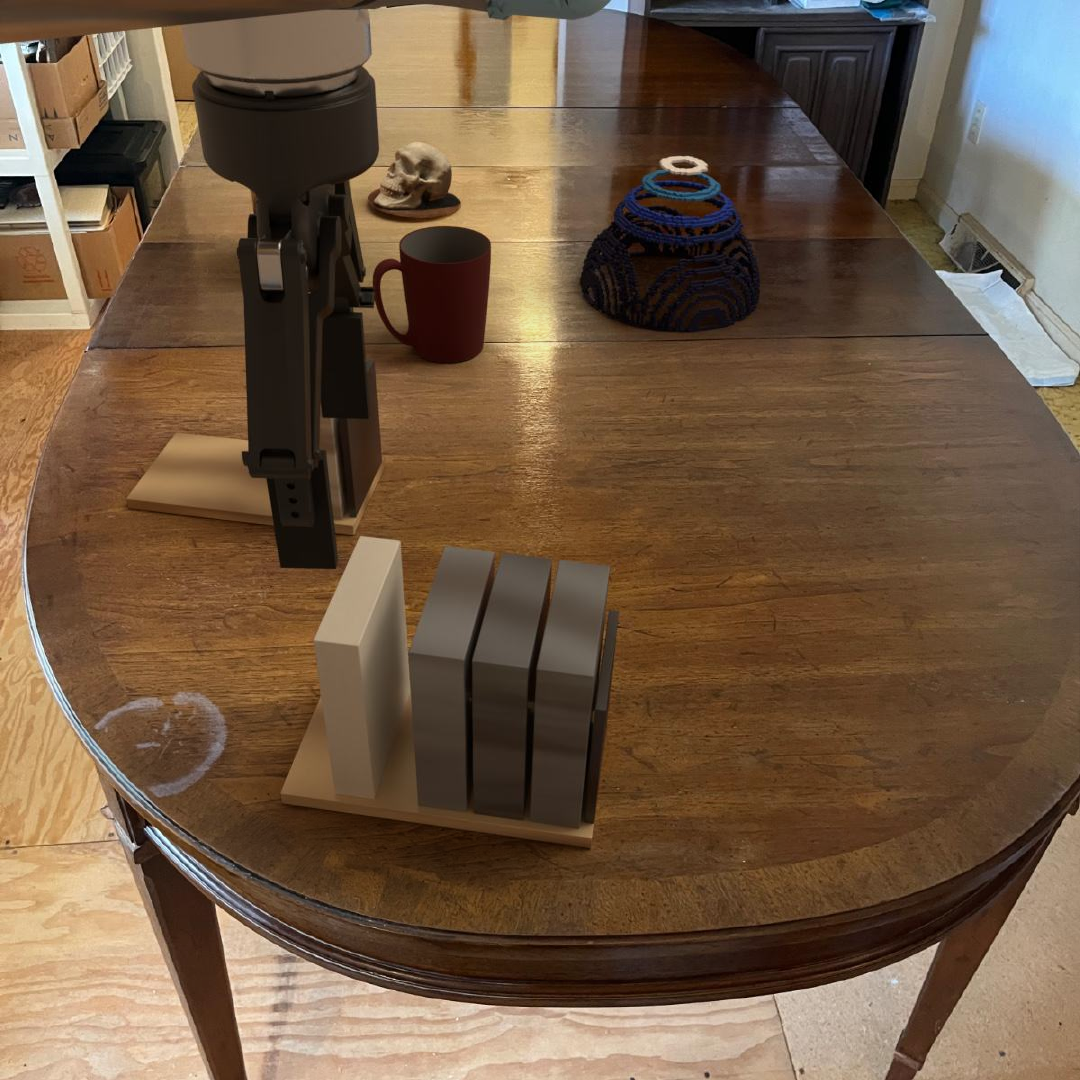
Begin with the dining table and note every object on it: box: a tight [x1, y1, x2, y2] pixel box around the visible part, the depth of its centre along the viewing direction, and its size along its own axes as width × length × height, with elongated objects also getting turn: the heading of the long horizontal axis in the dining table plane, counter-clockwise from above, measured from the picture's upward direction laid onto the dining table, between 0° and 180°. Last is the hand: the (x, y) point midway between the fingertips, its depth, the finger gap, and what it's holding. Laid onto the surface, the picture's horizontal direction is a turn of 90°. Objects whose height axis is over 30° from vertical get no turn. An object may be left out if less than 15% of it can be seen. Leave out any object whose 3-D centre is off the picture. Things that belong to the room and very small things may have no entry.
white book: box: [312, 535, 410, 799], centre depth 64 cm, size 9×2×13 cm, turn 172°
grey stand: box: [279, 545, 620, 849], centre depth 63 cm, size 10×19×14 cm, turn 82°
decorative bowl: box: [579, 155, 761, 333], centre depth 117 cm, size 20×20×14 cm
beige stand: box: [125, 358, 387, 536], centre depth 85 cm, size 10×19×14 cm, turn 82°
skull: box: [367, 141, 462, 220], centre depth 138 cm, size 12×10×10 cm
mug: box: [372, 225, 492, 364], centre depth 106 cm, size 12×9×11 cm
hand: (329, 483), depth 58 cm, fingers open, 13 cm apart
